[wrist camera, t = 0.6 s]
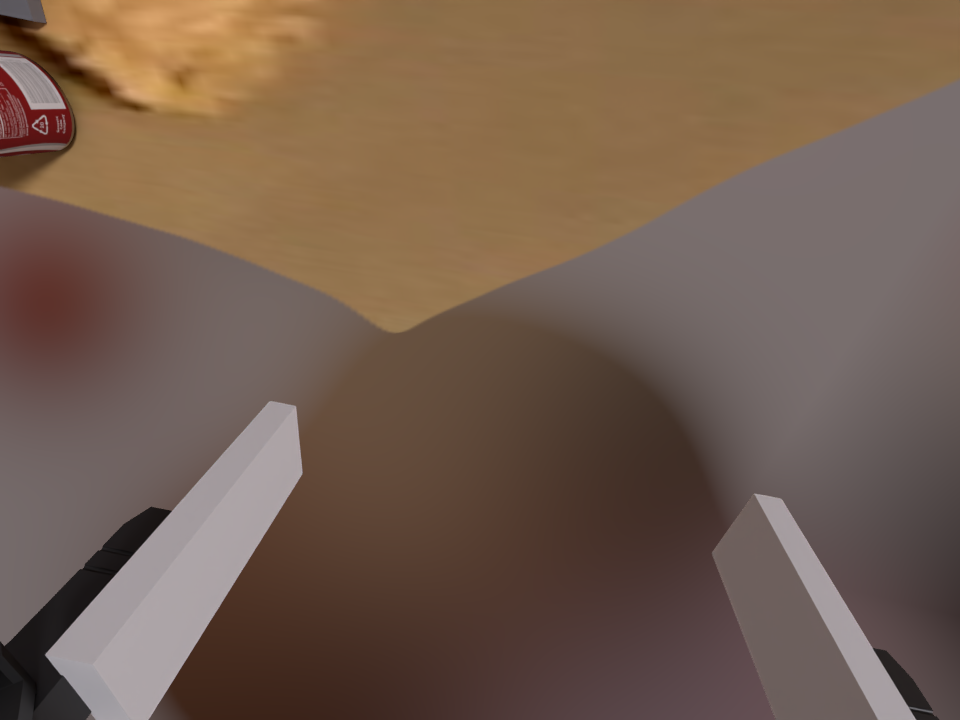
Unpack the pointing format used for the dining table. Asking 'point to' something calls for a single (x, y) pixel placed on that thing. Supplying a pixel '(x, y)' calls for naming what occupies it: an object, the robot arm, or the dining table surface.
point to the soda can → (31, 108)
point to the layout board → (23, 9)
